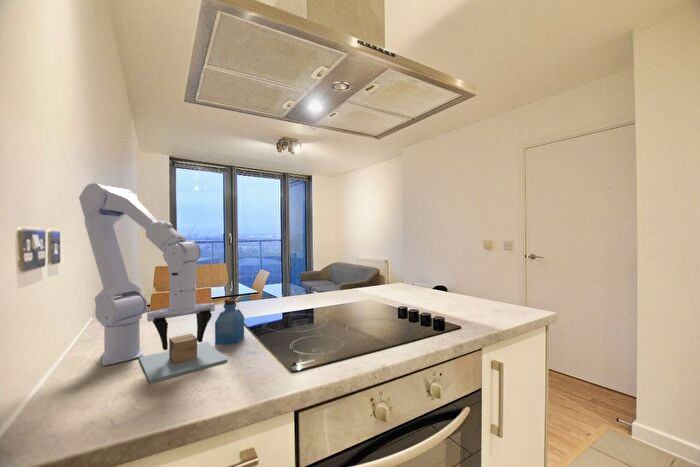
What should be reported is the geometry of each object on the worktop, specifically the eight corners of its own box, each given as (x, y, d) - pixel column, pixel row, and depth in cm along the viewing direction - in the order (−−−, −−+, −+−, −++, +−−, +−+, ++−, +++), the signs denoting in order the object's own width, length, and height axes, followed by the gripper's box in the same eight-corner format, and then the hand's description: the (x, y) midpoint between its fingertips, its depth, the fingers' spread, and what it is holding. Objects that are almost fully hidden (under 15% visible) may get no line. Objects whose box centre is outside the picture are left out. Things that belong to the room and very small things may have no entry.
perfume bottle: (244, 336, 92) (243, 297, 92) (237, 343, 86) (236, 301, 86) (223, 337, 92) (223, 297, 92) (215, 344, 85) (215, 302, 86)
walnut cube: (169, 358, 74) (169, 338, 74) (191, 352, 78) (191, 333, 78) (174, 364, 71) (174, 343, 71) (197, 358, 74) (197, 338, 74)
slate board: (139, 359, 75) (139, 357, 75) (207, 344, 85) (207, 342, 85) (149, 383, 63) (149, 380, 63) (227, 361, 73) (227, 359, 73)
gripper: (150, 296, 66) (150, 357, 66) (218, 288, 76) (218, 342, 76) (145, 291, 72) (145, 348, 72) (210, 285, 81) (210, 335, 81)
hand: (182, 344), depth 74 cm, fingers open, 7 cm apart
